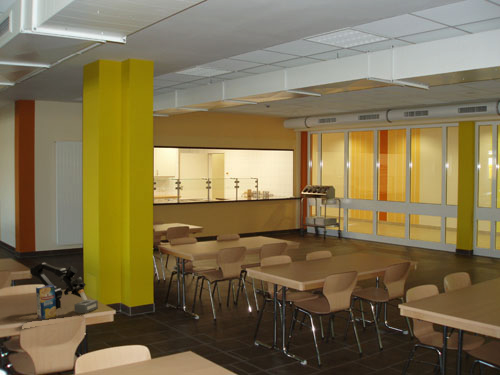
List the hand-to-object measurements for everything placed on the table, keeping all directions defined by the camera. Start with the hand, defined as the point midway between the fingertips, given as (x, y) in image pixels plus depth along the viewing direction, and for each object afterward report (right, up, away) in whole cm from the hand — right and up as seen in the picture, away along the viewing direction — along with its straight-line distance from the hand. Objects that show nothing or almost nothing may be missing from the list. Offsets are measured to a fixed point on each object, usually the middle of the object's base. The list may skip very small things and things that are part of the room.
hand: (81, 297), depth 396 cm
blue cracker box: (-20, -11, -16) cm, 28 cm away
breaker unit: (+4, -10, -1) cm, 11 cm away
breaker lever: (+4, -3, -1) cm, 5 cm away
